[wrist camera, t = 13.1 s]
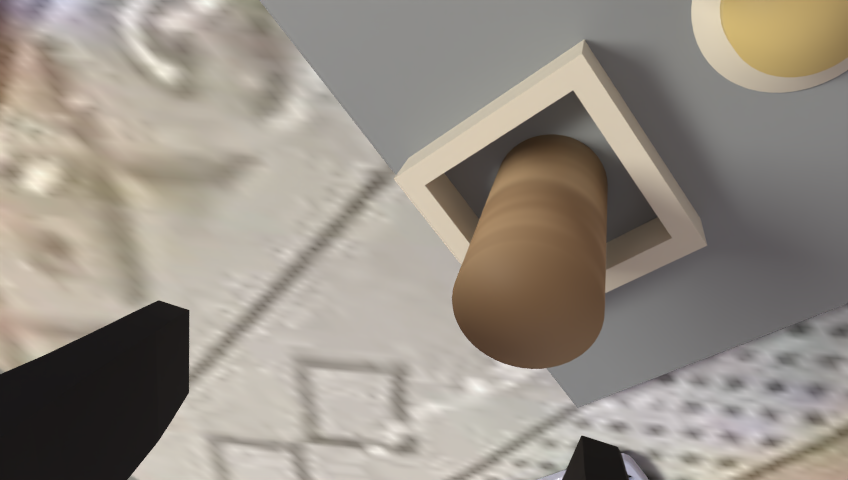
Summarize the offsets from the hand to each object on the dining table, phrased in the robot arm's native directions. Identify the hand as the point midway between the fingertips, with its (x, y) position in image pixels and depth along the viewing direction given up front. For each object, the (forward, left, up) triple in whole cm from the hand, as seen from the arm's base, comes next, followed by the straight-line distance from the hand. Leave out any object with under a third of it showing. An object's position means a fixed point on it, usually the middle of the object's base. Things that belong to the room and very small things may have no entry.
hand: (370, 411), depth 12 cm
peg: (-1, -2, -9) cm, 9 cm away
